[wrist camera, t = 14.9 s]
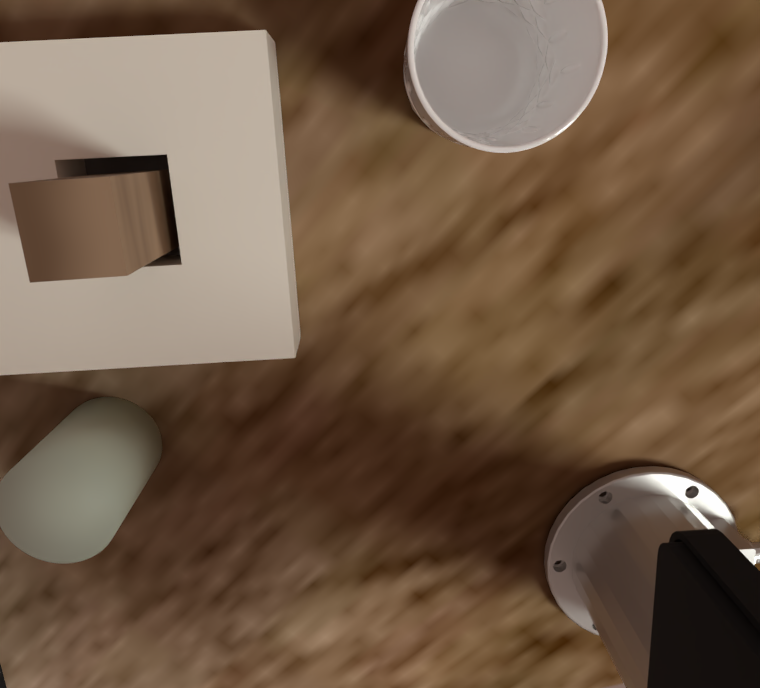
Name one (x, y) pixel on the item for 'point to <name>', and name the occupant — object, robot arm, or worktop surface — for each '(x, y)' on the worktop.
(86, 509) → the sage round peg
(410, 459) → the worktop surface
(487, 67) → the white cup
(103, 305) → the cream socket block
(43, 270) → the walnut square peg
